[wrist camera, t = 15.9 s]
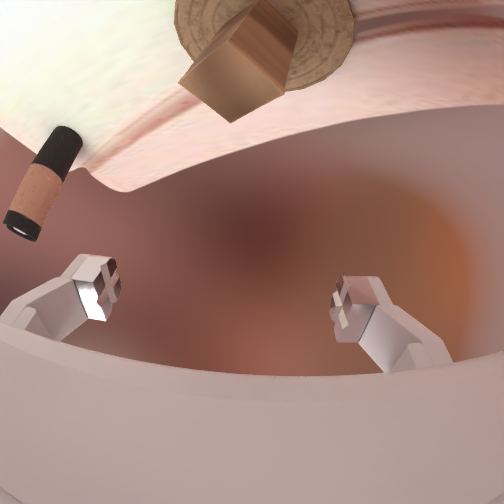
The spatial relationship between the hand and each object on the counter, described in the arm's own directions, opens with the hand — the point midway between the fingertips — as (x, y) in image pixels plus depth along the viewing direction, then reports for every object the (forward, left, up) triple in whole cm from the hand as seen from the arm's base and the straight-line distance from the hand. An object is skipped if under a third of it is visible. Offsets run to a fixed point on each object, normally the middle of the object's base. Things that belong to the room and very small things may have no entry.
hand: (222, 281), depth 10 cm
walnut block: (+3, -1, -22) cm, 22 cm away
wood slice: (+3, -1, -25) cm, 25 cm away
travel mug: (+45, +2, -24) cm, 51 cm away
